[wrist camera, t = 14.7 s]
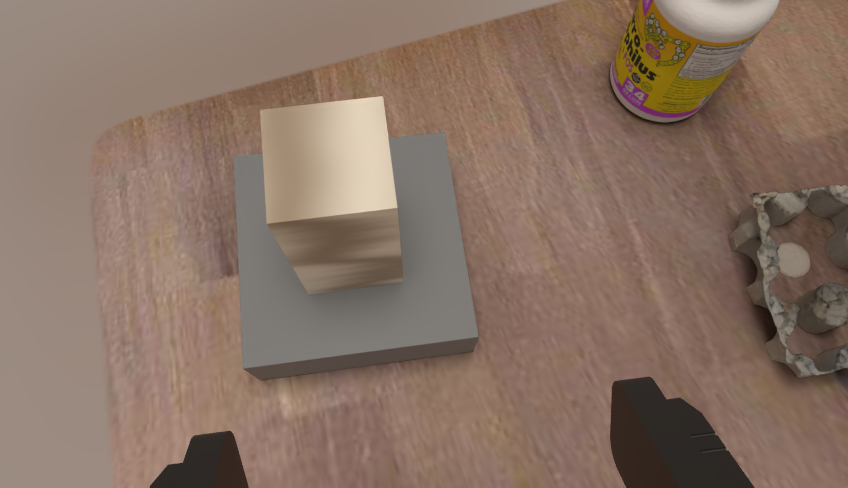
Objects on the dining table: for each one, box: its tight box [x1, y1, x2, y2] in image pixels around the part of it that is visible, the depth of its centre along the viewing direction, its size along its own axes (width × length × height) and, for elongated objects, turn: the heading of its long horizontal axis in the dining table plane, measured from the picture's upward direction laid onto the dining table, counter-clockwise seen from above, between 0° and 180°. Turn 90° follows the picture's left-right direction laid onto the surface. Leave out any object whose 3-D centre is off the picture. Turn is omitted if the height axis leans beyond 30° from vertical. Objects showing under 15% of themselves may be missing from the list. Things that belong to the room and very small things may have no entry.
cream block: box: [260, 96, 404, 295], centre depth 31 cm, size 5×5×10 cm
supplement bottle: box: [610, 0, 779, 122], centre depth 38 cm, size 7×7×13 cm
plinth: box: [234, 132, 479, 380], centre depth 37 cm, size 12×12×4 cm
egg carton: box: [729, 185, 848, 378], centre depth 37 cm, size 11×8×4 cm
